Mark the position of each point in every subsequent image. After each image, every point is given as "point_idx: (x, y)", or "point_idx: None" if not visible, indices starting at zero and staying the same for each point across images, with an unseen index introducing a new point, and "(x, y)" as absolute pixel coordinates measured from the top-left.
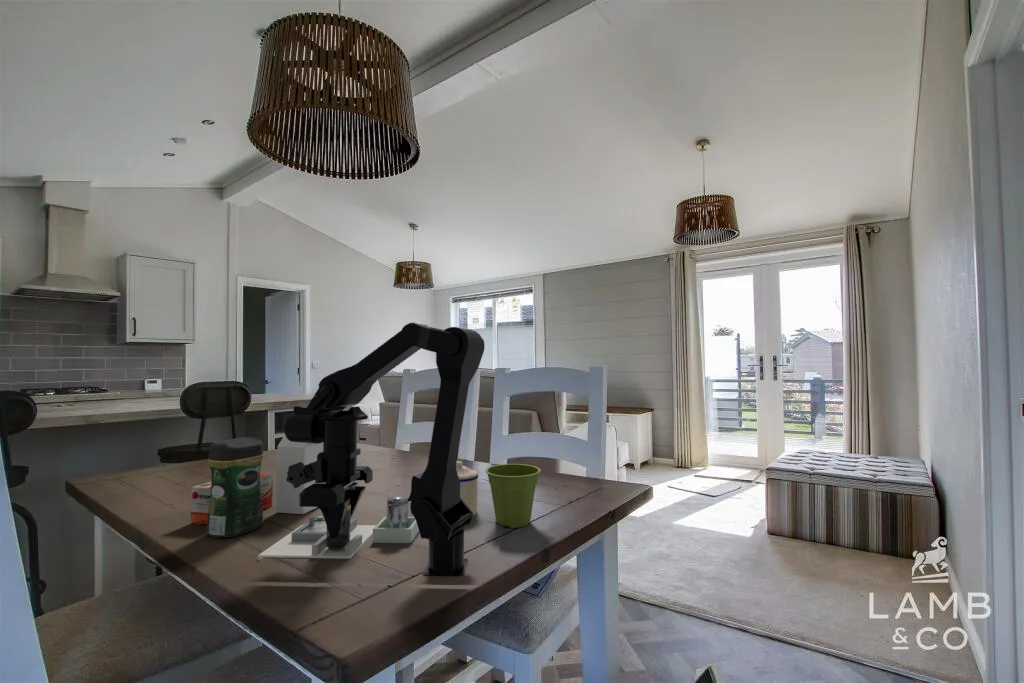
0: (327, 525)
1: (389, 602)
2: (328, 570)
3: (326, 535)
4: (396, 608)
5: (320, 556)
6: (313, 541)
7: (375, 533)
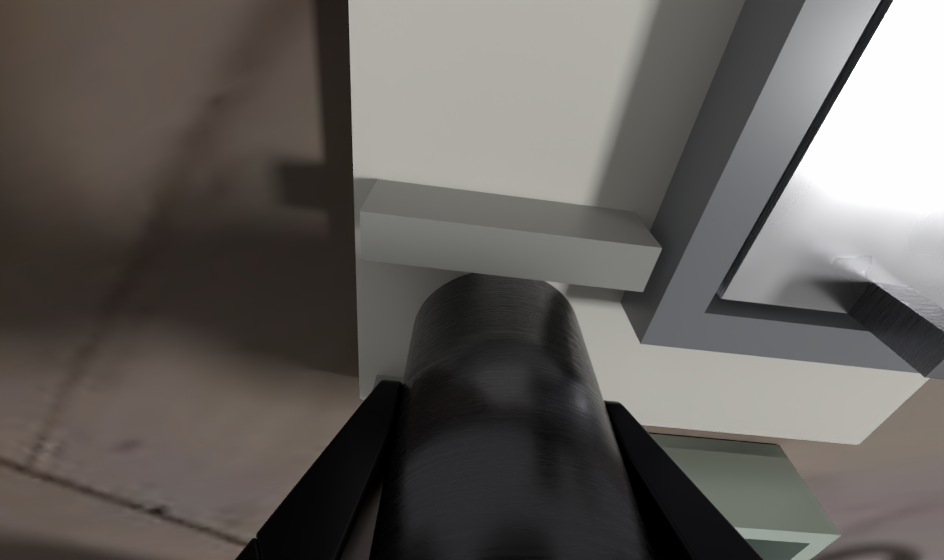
0: (302, 483)
1: (49, 519)
2: (232, 310)
3: (467, 328)
4: (24, 533)
5: (358, 246)
6: (708, 93)
7: None
